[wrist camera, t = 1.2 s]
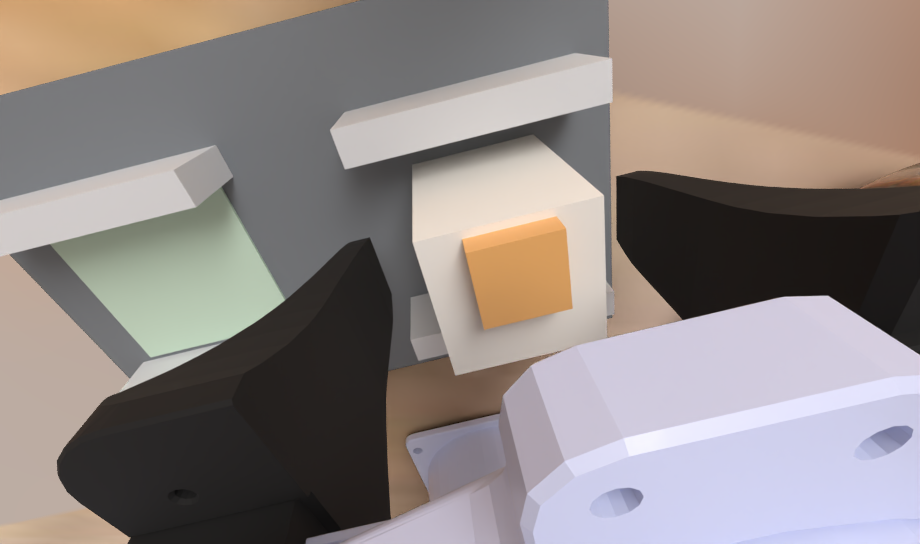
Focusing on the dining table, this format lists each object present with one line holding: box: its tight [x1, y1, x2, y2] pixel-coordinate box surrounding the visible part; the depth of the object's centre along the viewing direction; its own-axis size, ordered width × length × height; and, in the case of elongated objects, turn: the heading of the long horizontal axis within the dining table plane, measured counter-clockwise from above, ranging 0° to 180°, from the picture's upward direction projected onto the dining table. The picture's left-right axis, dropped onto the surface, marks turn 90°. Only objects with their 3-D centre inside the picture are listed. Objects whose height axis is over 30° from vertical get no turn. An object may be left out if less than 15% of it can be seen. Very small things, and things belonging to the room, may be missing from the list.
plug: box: [412, 134, 607, 376], centre depth 11 cm, size 4×4×6 cm
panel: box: [0, 0, 614, 392], centre depth 13 cm, size 13×20×4 cm, turn 103°
